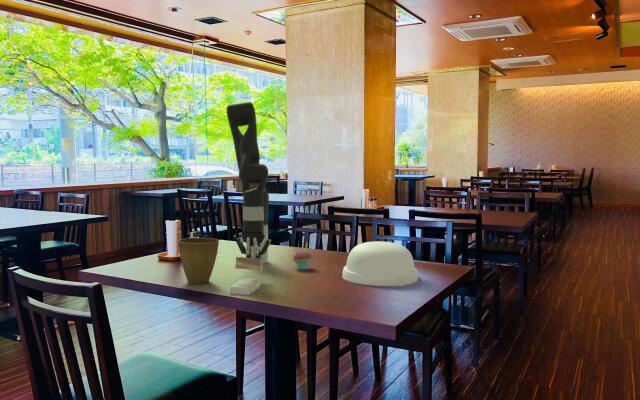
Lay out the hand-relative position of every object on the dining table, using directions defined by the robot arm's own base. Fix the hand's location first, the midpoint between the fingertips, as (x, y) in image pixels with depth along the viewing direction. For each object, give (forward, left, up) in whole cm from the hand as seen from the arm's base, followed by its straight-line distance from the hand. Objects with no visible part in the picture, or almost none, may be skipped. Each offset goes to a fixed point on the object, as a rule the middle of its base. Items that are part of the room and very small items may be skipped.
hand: (253, 265), depth 191 cm
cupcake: (-34, +10, -7) cm, 36 cm away
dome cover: (-26, +44, -8) cm, 51 cm away
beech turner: (0, 0, -2) cm, 2 cm away
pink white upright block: (+2, 0, -6) cm, 6 cm away
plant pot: (+1, -21, -7) cm, 22 cm away
